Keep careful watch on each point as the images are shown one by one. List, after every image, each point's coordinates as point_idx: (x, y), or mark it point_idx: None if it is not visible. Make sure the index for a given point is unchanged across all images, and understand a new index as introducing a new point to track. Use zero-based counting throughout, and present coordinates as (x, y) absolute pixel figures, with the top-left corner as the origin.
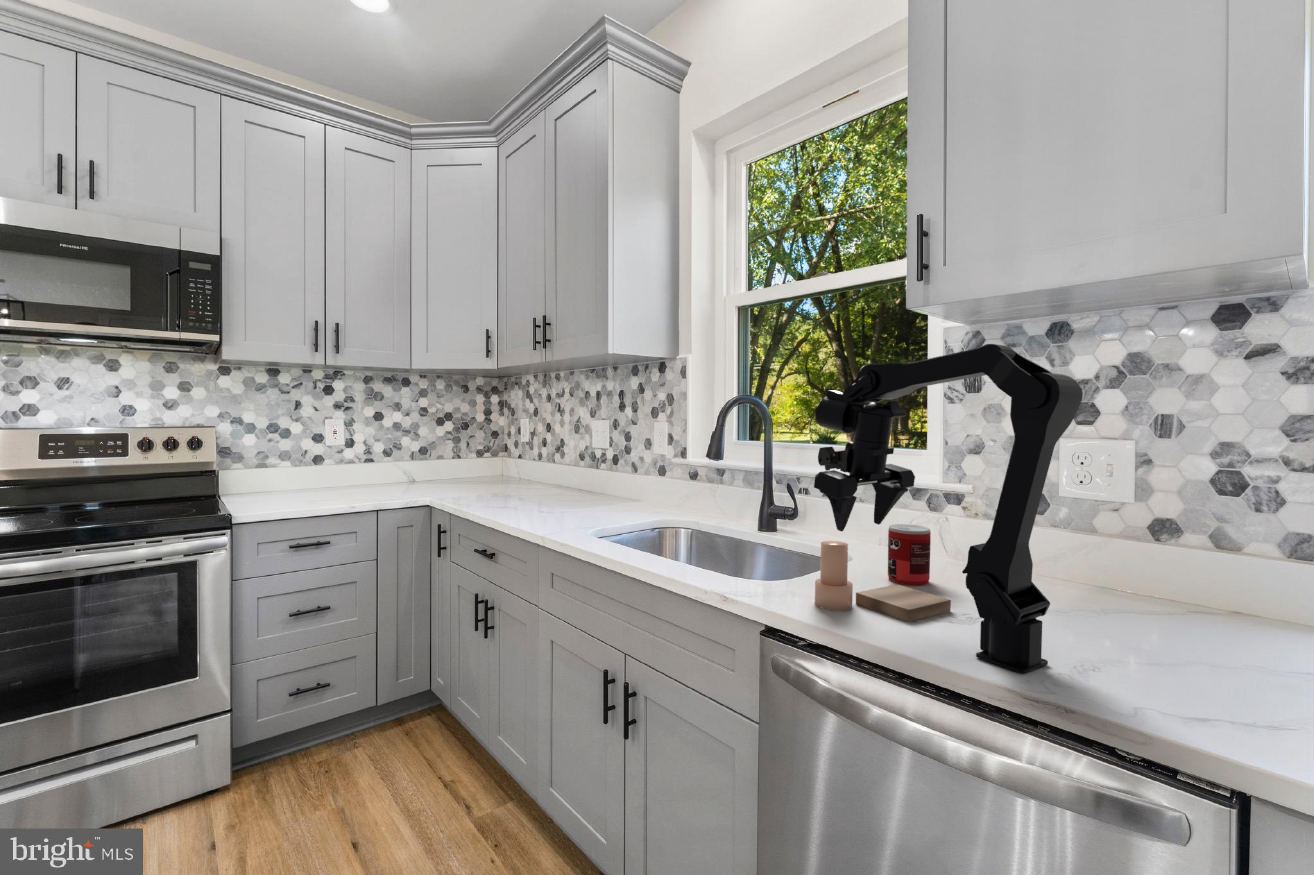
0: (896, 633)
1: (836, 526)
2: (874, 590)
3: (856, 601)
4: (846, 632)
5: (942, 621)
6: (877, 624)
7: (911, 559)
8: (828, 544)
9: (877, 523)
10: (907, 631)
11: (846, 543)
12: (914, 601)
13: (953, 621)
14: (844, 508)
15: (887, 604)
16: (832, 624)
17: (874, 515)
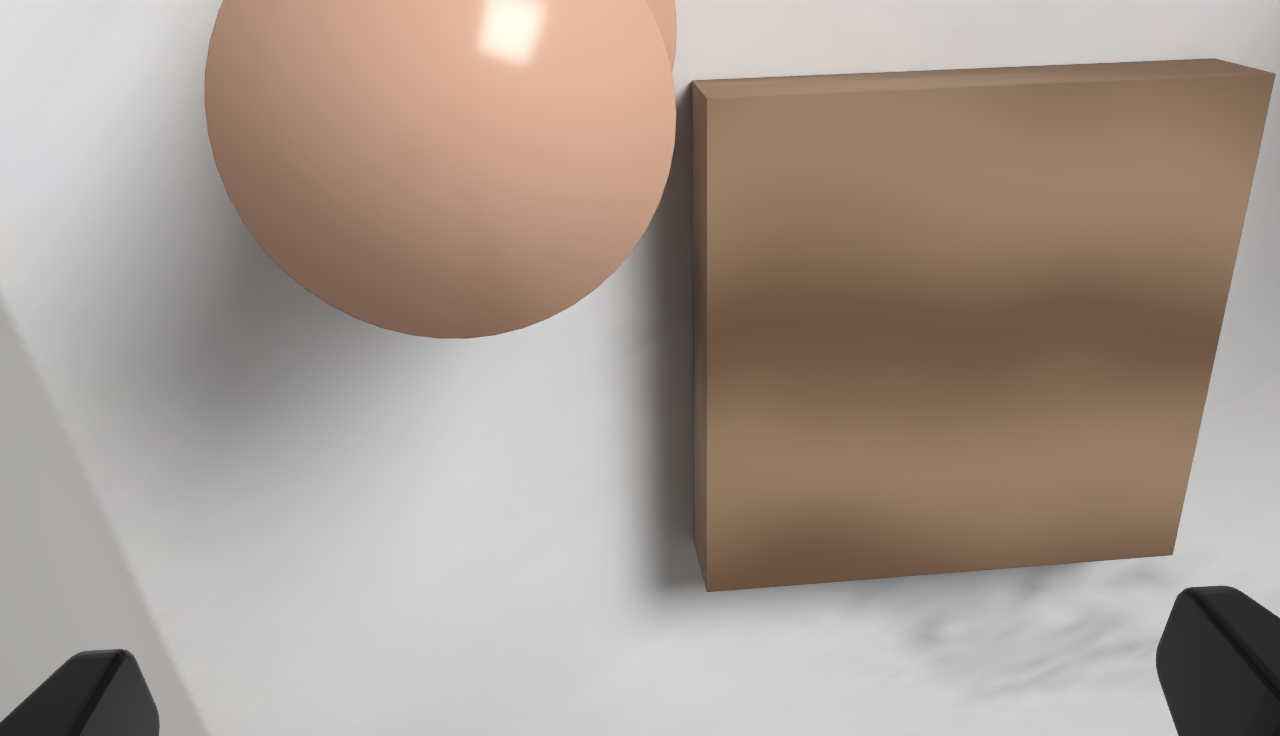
0: (449, 645)
1: (35, 696)
2: (917, 125)
3: (695, 91)
4: (146, 524)
5: (893, 609)
6: (463, 497)
7: None
8: (295, 134)
9: (1165, 653)
10: (540, 646)
11: (645, 210)
12: (916, 483)
13: (950, 632)
14: None
15: (705, 420)
16: (149, 376)
17: (1273, 699)
